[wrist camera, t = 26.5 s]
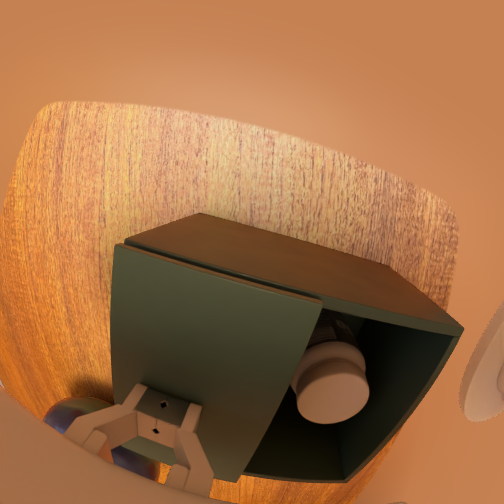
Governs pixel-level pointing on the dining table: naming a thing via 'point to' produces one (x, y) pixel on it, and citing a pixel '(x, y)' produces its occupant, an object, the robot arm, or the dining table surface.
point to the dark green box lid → (205, 350)
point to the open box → (359, 320)
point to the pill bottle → (331, 372)
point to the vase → (146, 467)
